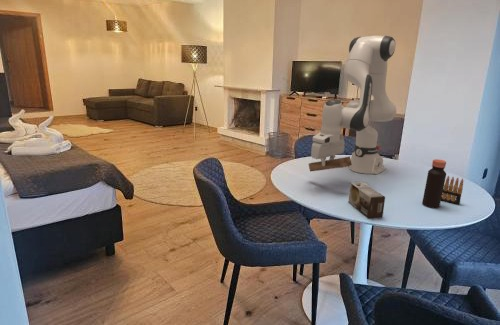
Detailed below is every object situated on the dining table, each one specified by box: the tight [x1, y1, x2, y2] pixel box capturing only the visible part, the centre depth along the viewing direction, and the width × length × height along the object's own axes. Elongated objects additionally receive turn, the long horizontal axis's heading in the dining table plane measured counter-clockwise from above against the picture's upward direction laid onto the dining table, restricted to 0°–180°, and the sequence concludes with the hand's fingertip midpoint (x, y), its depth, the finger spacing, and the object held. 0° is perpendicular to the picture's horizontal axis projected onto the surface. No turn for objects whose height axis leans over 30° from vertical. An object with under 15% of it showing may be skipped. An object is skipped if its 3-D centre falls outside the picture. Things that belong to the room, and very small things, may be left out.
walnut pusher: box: [308, 156, 352, 172], centre depth 159 cm, size 6×22×4 cm, turn 39°
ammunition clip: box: [441, 175, 464, 206], centre depth 149 cm, size 11×2×12 cm, turn 52°
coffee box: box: [348, 181, 386, 219], centre depth 138 cm, size 9×6×16 cm
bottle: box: [421, 159, 447, 209], centre depth 143 cm, size 7×7×20 cm
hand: (327, 164), depth 159 cm, fingers closed on walnut pusher, 3 cm apart
